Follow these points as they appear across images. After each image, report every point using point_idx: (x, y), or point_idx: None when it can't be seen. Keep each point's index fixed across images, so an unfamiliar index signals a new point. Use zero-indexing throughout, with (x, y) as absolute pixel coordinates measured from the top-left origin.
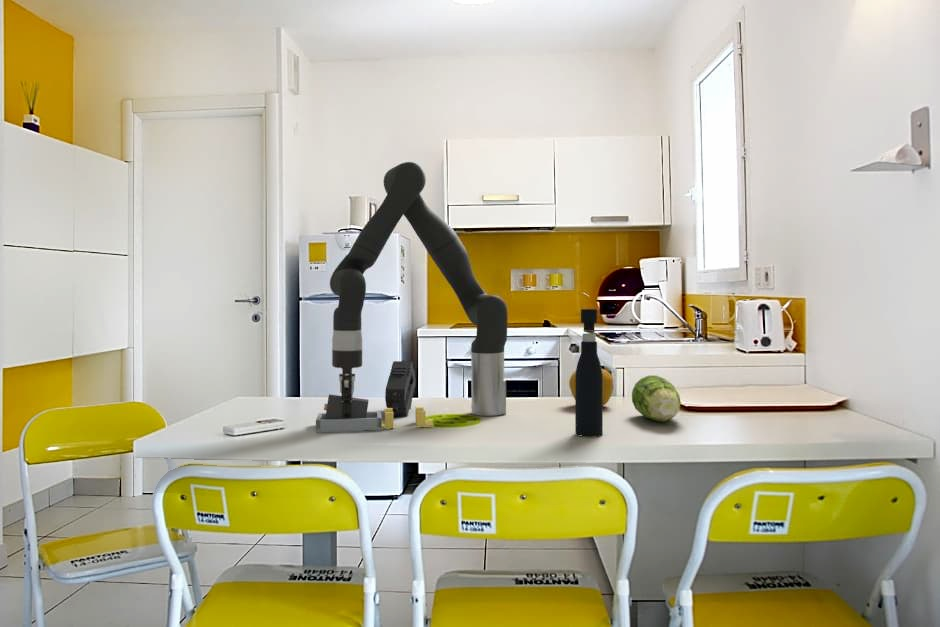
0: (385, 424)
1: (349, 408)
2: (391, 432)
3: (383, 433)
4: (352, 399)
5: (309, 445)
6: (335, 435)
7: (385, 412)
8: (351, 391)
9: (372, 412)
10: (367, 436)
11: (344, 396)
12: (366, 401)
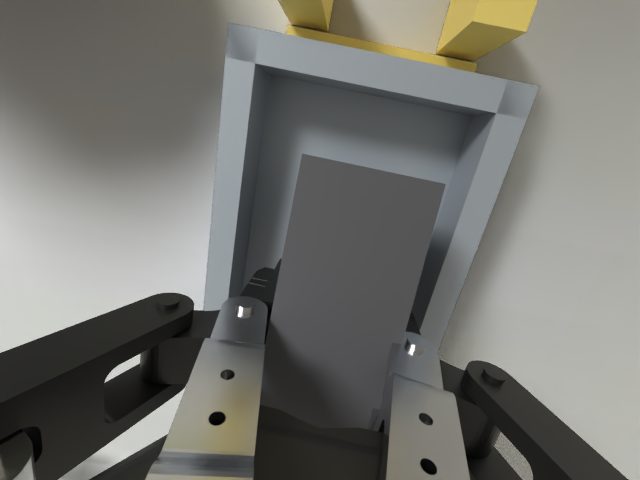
0: (470, 52)
1: (415, 325)
2: (595, 44)
3: (593, 104)
4: (394, 336)
5: (635, 460)
6: (494, 344)
7: (490, 22)
8: (608, 468)
9: (252, 101)
10: (616, 212)
11: (481, 452)
12: (439, 204)
